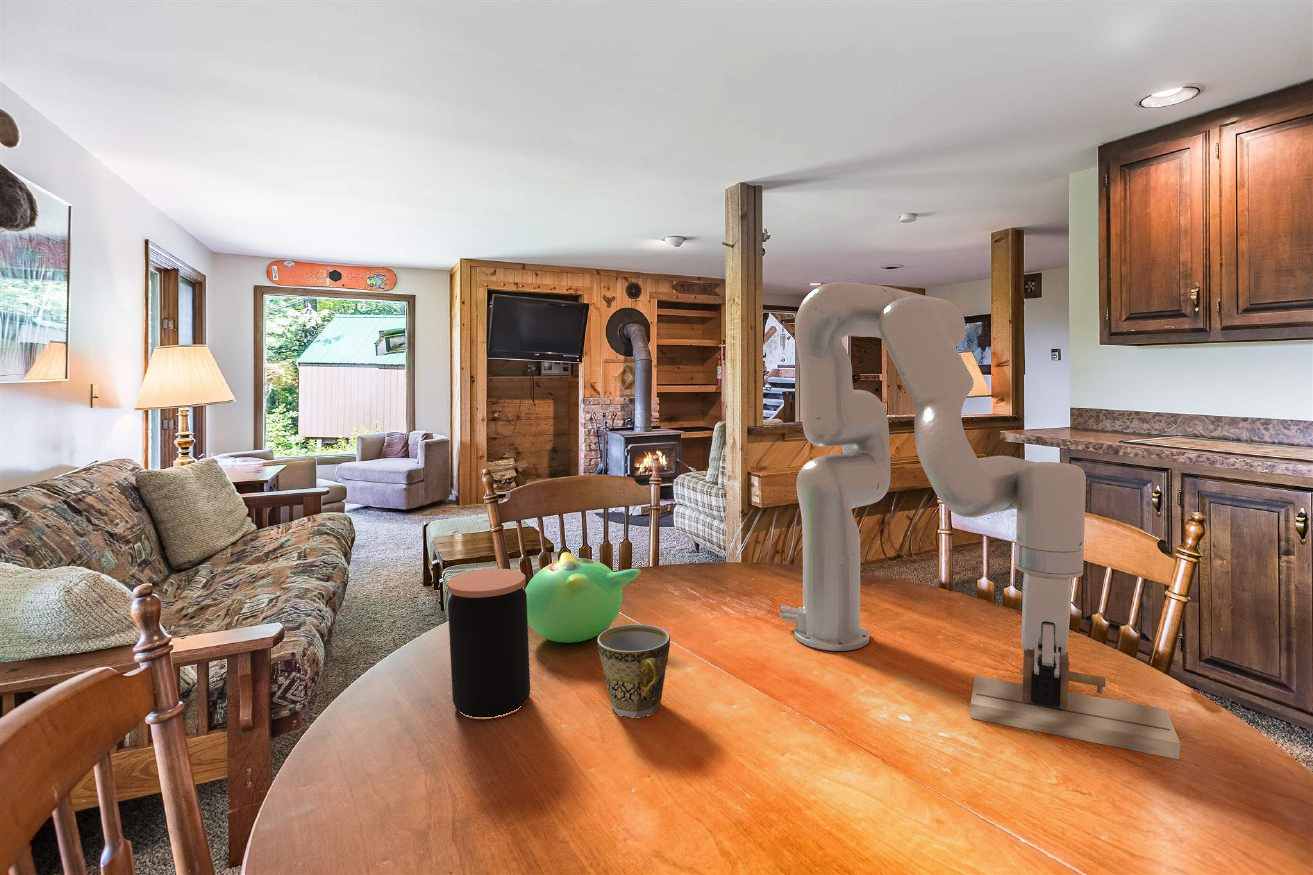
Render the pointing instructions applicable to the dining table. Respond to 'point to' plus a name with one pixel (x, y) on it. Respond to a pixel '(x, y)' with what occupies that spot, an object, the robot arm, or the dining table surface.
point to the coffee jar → (489, 642)
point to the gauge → (1063, 672)
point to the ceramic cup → (634, 667)
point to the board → (1078, 718)
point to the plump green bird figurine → (575, 598)
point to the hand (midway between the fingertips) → (1044, 694)
